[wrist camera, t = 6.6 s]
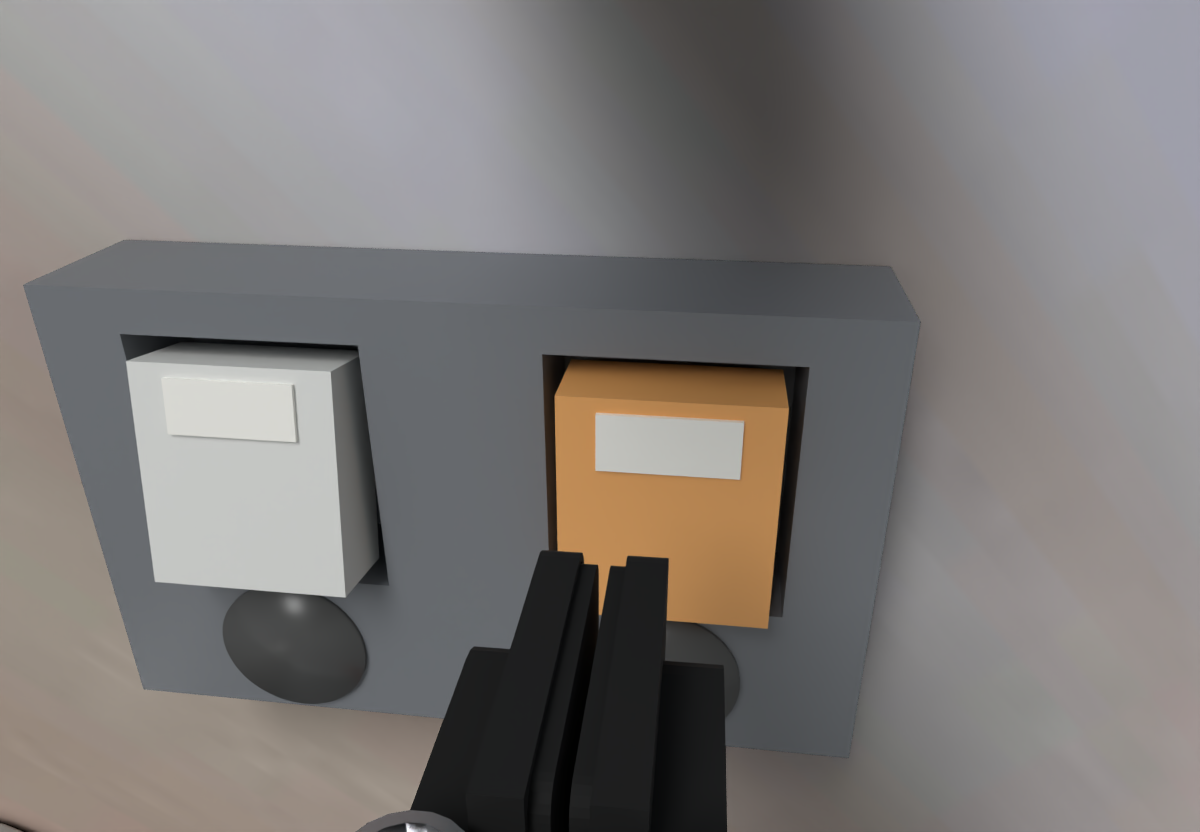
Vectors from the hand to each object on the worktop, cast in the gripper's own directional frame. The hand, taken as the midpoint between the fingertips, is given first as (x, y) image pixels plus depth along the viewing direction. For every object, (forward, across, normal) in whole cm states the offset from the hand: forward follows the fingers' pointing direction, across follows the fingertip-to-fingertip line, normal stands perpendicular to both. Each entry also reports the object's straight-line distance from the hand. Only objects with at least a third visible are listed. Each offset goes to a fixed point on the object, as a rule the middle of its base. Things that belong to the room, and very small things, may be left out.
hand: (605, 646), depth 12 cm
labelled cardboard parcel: (+7, -1, +2) cm, 7 cm away
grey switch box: (+11, +4, +3) cm, 12 cm away
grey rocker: (+7, +8, +2) cm, 11 cm away
